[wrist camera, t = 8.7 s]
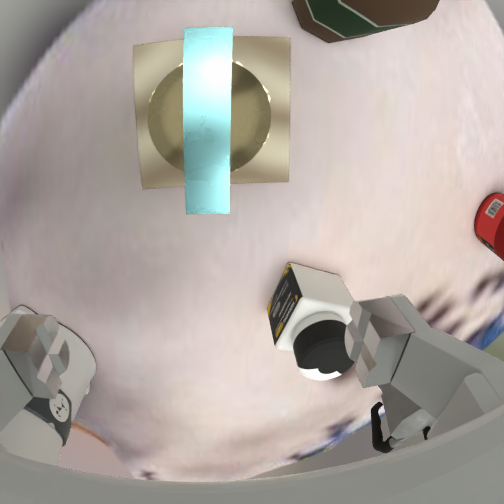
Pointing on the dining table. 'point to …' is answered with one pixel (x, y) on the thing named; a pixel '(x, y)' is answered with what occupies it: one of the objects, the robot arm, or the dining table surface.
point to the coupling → (209, 118)
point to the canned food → (491, 224)
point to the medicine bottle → (312, 320)
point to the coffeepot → (398, 419)
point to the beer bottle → (359, 16)
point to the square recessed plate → (250, 57)
